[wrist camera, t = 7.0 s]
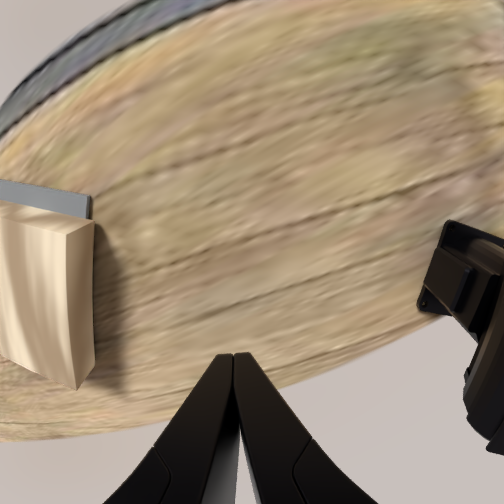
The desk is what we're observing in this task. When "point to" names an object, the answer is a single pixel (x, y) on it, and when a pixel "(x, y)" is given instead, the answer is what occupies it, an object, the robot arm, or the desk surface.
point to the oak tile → (46, 292)
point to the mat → (45, 198)
